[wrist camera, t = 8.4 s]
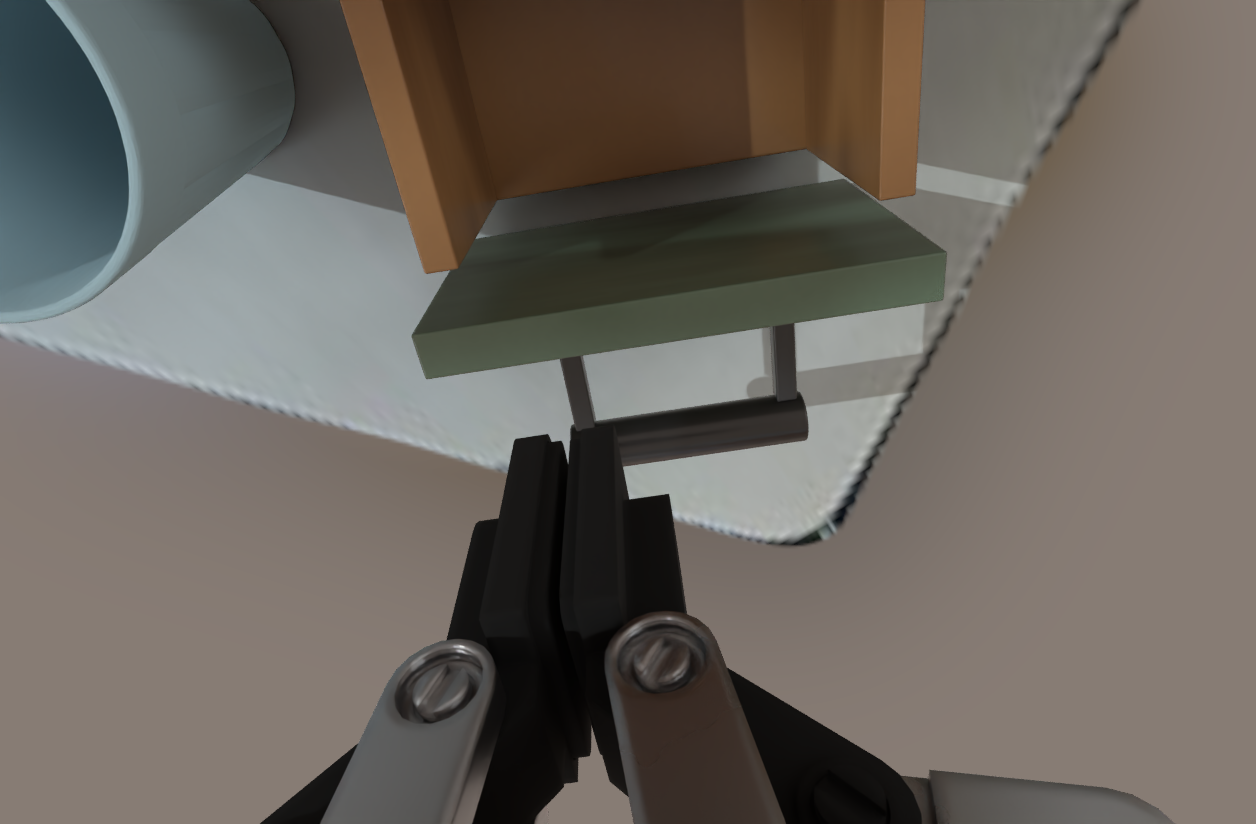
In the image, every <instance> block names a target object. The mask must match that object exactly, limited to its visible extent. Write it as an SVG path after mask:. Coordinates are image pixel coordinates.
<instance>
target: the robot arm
mask: <svg viewBox="0 0 1256 824" xmlns="http://www.w3.org/2000/svg"><path fill="white" fill-rule="evenodd" d="M591 725H592V728H593V732H594V735H595V739H596V742H597V745H598V749H599V752H600V754H601V755H602V756H603V759H604V763H605V766H606V770H607V773H608V777H609V780H610V782H611V783H612V784H614V785H615V786H616V787H617V788H618V789H619V790H621V791H622V792H623V793H624V794H625V795H627V796H628V797H629V801H630V806H631V811H632V817H633V822H634V824H1175V823H1174V822H1173V821H1172V820H1170V819H1169V818H1168V817H1167V816H1166V815H1165V814H1164V813H1163V812H1162V811H1160V810H1159V809H1158V808H1156V807H1154V806H1152V805H1151V804H1149V803H1147V802H1145V801H1143V800H1141V799H1140V798H1138V797H1136V796H1134V795H1132V794H1128V793H1124V792H1120V791H1117V790H1113V789H1109V788H1103V787H1093V786H1084V785H1073V784H1064V783H1053V782H1044V781H1034V780H1024V779H1014V778H1004V777H994V776H984V775H974V774H964V773H954V772H945V771H934V770H929V778H928V779H927V778H917V777H908V776H900V775H899V774H898V773H897V772H896V771H894V770H893V769H892V768H890V767H889V766H888V765H887V764H885V763H884V762H883V761H882V760H880V759H878V758H877V757H875V756H873V755H872V754H870V753H868V752H867V751H865V750H863V749H862V748H860V747H858V746H857V745H855V744H853V743H852V742H850V741H848V740H847V739H845V738H843V737H842V736H840V735H838V734H837V733H835V732H833V731H832V730H830V729H828V728H827V727H825V726H823V725H822V724H820V723H818V722H817V721H815V720H813V719H812V718H810V717H808V716H807V715H805V714H803V713H802V712H800V711H798V710H797V709H795V708H793V707H792V706H790V705H788V704H787V703H785V702H784V701H782V700H780V699H779V698H777V697H775V696H774V695H772V694H770V693H769V692H767V691H765V690H763V689H762V688H760V687H759V686H757V685H755V684H754V683H752V682H750V681H749V680H747V679H745V678H744V677H742V676H740V675H738V674H737V673H735V672H734V671H732V670H730V669H729V668H727V667H726V664H725V662H724V659H723V656H722V654H721V651H720V649H719V646H718V643H717V641H716V639H715V637H714V636H713V634H712V632H711V631H710V629H709V628H708V627H707V626H706V625H705V624H703V623H702V622H701V621H700V620H698V619H697V618H695V617H692V616H689V615H687V611H686V604H685V597H684V590H683V583H682V576H681V569H680V562H679V555H678V548H677V542H676V535H675V529H674V522H673V516H672V509H671V503H670V497H669V494H665V495H658V496H651V497H644V498H637V499H630V500H629V496H628V491H627V486H626V481H625V475H624V470H623V465H622V460H621V455H620V450H619V444H618V439H617V434H616V430H615V426H614V424H612V425H606V426H599V427H592V428H586V429H582V431H581V438H576V439H571V440H570V450H569V464H568V462H567V458H566V454H565V450H564V446H563V443H562V441H556V442H551V439H550V437H549V435H548V434H546V435H539V436H532V437H526V438H519V439H515V441H514V445H513V450H512V455H511V460H510V465H509V470H508V475H507V480H506V485H505V490H504V495H503V500H502V505H501V510H500V515H499V518H498V519H491V520H484V521H479V522H478V523H476V525H475V527H474V530H473V534H472V538H471V542H470V546H469V551H468V554H467V558H466V563H465V567H464V571H463V575H462V579H461V583H460V588H459V591H458V596H457V599H456V603H455V608H454V612H453V616H452V620H451V624H450V628H449V632H448V636H447V640H446V641H440V642H438V643H435V644H432V645H430V646H427V647H424V648H423V649H421V650H420V651H418V652H417V653H415V654H413V655H412V656H410V657H409V658H408V659H407V660H406V661H405V662H404V663H403V664H402V665H401V666H400V667H399V668H398V669H396V671H395V673H394V674H393V676H392V677H391V679H390V680H389V682H388V683H387V685H386V687H385V689H384V692H383V693H382V696H381V697H380V700H379V702H378V704H377V706H376V708H375V710H374V712H373V715H372V716H371V718H370V720H369V723H368V725H367V727H366V729H365V731H364V733H363V735H362V737H361V739H360V741H359V743H358V744H357V745H355V746H354V747H353V748H352V749H351V750H349V751H348V752H347V753H346V754H345V755H343V756H342V757H341V758H340V759H338V760H337V761H336V762H335V763H334V764H332V765H331V766H330V767H329V768H327V769H326V770H325V771H324V772H323V773H321V774H320V775H319V776H318V777H317V778H315V779H314V780H313V781H311V782H310V783H309V784H308V785H307V786H305V787H304V788H303V789H302V790H301V791H299V792H298V793H297V794H296V795H294V796H293V797H292V798H291V799H290V800H288V801H287V802H286V803H285V804H283V805H282V806H281V807H280V808H279V809H277V810H276V811H275V812H274V813H273V814H271V815H270V816H269V817H268V818H266V819H265V820H264V821H263V822H261V823H260V824H548V813H549V811H548V808H547V804H548V803H549V802H550V801H551V800H552V799H553V798H554V797H555V796H556V795H557V794H558V793H559V792H560V790H561V789H562V788H563V787H564V784H565V783H573V782H578V758H579V757H587V756H590V753H591Z"/></svg>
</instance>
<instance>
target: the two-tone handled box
mask: <svg viewBox="0 0 1256 824" xmlns="http://www.w3.org/2000/svg"><path fill="white" fill-rule="evenodd" d="M339 1H340V4H341V7H342V10H343V13H344V17H345V20H346V23H347V26H348V29H349V33H350V36H351V39H352V42H353V45H354V49H355V52H356V55H357V58H358V61H359V65H360V68H361V71H362V74H363V77H364V81H365V84H366V87H367V90H368V93H369V97H370V100H371V103H372V106H373V109H374V113H375V116H376V119H377V122H378V125H379V129H380V132H381V135H382V138H383V141H384V144H385V148H386V151H387V154H388V157H389V160H390V164H391V167H392V170H393V173H394V176H395V180H396V183H397V186H398V189H399V192H400V196H401V199H402V202H403V205H404V208H405V212H406V215H407V218H408V221H409V224H410V228H411V231H412V234H413V237H414V240H415V244H416V247H417V250H418V253H419V256H420V260H421V263H422V266H423V269H424V272H425V273H426V274H429V273H435V272H442V271H448V270H450V272H449V273H448V275H447V277H446V278H445V280H444V282H443V284H442V285H441V287H440V289H439V290H438V292H437V294H436V295H435V297H434V299H433V300H432V302H431V304H430V305H429V307H428V309H427V310H426V312H425V314H424V315H423V317H422V319H421V320H420V322H419V324H418V326H417V327H416V329H415V331H414V332H413V334H412V340H413V343H414V345H415V348H416V351H417V354H418V357H419V360H420V363H421V366H422V369H423V372H424V375H425V378H426V379H432V378H438V377H445V376H452V375H458V374H465V373H471V372H478V371H484V370H491V369H497V368H504V367H510V366H517V365H523V364H530V363H537V362H543V361H550V360H556V359H560V362H561V367H562V371H563V375H564V380H565V384H566V389H567V393H568V397H569V402H570V406H571V411H572V415H573V420H574V424H573V425H571V429H570V439H576V438H581V431H582V429H586V428H592V427H599V426H606V425H612V424H614V426H615V430H616V434H617V439H618V444H619V450H620V455H621V460H622V465H623V467H624V466H631V465H638V464H645V463H652V462H659V461H666V460H672V459H679V458H686V457H693V456H700V455H707V454H714V453H721V452H728V451H735V450H742V449H749V448H756V447H763V446H770V445H777V444H784V443H791V442H798V441H805V440H806V439H807V438H808V417H807V411H806V406H805V403H804V399H803V397H802V395H801V393H800V392H798V391H797V385H796V359H795V333H794V323H798V322H805V321H811V320H818V319H824V318H831V317H837V316H844V315H851V314H857V313H864V312H870V311H877V310H883V309H890V308H896V307H903V306H909V305H916V304H922V303H929V302H936V301H941V300H943V297H944V284H945V271H946V258H947V253H946V251H945V250H943V249H942V248H941V247H939V246H938V245H936V244H935V243H934V242H932V241H931V240H929V239H928V238H927V237H925V236H924V235H922V234H921V233H920V232H918V231H917V230H915V229H914V228H913V227H911V226H910V225H908V224H907V223H906V222H904V221H903V220H901V219H900V218H899V217H897V216H896V215H894V214H893V213H892V212H890V211H889V210H887V209H886V208H885V207H883V206H882V205H880V204H879V203H878V202H876V201H875V200H873V199H872V198H871V197H869V196H868V195H866V194H865V193H864V192H862V191H861V190H859V189H858V188H857V187H855V186H854V185H852V184H851V183H850V182H848V181H847V180H845V179H840V180H834V181H828V182H821V183H815V184H809V185H803V186H797V187H791V188H785V189H779V190H772V191H766V192H760V193H754V194H748V195H742V196H736V197H730V198H723V199H717V200H711V201H705V202H699V203H693V204H687V205H681V206H674V207H668V208H662V209H656V210H650V211H644V212H638V213H632V214H625V215H619V216H613V217H607V218H601V219H595V220H589V221H583V222H576V223H570V224H564V225H558V226H552V227H546V228H540V229H534V230H527V231H521V232H515V233H509V234H503V235H497V236H491V237H485V238H478V239H475V238H476V236H477V235H478V233H479V231H480V229H481V228H482V226H483V224H484V222H485V221H486V219H487V217H488V215H489V214H490V212H491V210H492V208H493V207H494V205H495V203H496V201H497V200H502V199H508V198H514V197H520V196H526V195H532V194H538V193H544V192H550V191H556V190H562V189H568V188H574V187H580V186H586V185H592V184H598V183H604V182H610V181H616V180H622V179H628V178H634V177H640V176H646V175H652V174H658V173H664V172H670V171H676V170H682V169H688V168H695V167H701V166H707V165H713V164H719V163H725V162H731V161H737V160H743V159H749V158H755V157H761V156H767V155H773V154H779V153H785V152H791V151H797V150H803V149H807V150H808V151H810V152H811V153H813V154H814V155H815V156H817V157H818V158H820V159H821V160H823V161H824V162H825V163H827V164H828V165H830V166H831V167H833V168H834V169H835V170H837V171H838V172H840V173H841V174H843V175H844V176H845V177H847V178H848V179H850V180H851V181H853V182H854V183H855V184H857V185H858V186H860V187H861V188H862V189H864V190H865V191H867V192H868V193H870V194H871V195H872V196H874V197H875V198H877V199H878V200H880V201H882V200H888V199H895V198H901V197H907V196H913V195H915V192H916V172H917V153H918V133H919V114H920V94H921V75H922V55H923V35H924V16H925V0H339ZM766 327H770V343H771V360H772V378H773V393H774V395H769V396H763V397H756V398H749V399H742V400H735V401H729V402H722V403H715V404H708V405H702V406H695V407H688V408H681V409H674V410H668V411H661V412H654V413H647V414H641V415H634V416H627V417H620V418H613V419H607V420H600V421H596V417H595V412H594V408H593V403H592V398H591V393H590V388H589V383H588V379H587V374H586V369H585V364H584V359H583V355H589V354H595V353H602V352H609V351H615V350H622V349H628V348H635V347H641V346H648V345H654V344H661V343H667V342H674V341H680V340H687V339H694V338H700V337H707V336H713V335H720V334H726V333H733V332H739V331H746V330H752V329H759V328H766Z"/></svg>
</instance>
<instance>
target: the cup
mask: <svg viewBox="0 0 1256 824" xmlns="http://www.w3.org/2000/svg"><path fill="white" fill-rule="evenodd" d="M294 105H295V89H294V83H293V77H292V71H291V66H290V62H289V59H288V56H287V54H286V51H285V49H284V47H283V45H282V43H281V42H280V40H279V38H278V36H277V35H276V33H275V31H274V30H273V28H272V26H271V25H270V23H269V21H268V20H267V19H266V17H265V16H264V15H263V14H262V13H261V11H260V10H259V9H258V8H257V7H256V6H255V5H254V4H252V3H251V2H250V1H249V0H0V324H3V323H25V322H32V321H38V320H43V319H48V318H52V317H55V316H58V315H61V314H64V313H66V312H69V311H71V310H73V309H76V308H78V307H80V306H82V305H84V304H85V303H87V302H89V301H91V300H92V299H94V298H95V297H96V296H98V295H99V294H100V293H102V292H103V291H104V290H105V289H107V288H108V287H109V286H110V285H111V284H113V283H114V282H115V281H116V280H117V279H119V278H120V277H121V276H122V275H124V274H125V273H126V272H127V271H128V270H130V269H131V268H132V267H133V266H135V265H136V264H137V263H138V262H139V261H141V260H142V259H143V258H144V257H146V256H147V255H148V254H149V253H150V252H151V251H152V250H153V249H154V248H155V247H156V246H157V245H158V244H159V243H161V242H162V241H163V240H164V239H166V238H167V237H168V236H169V235H171V234H172V233H173V232H174V231H175V230H177V229H178V228H179V227H180V226H182V225H183V224H184V223H185V222H187V221H188V220H189V219H190V218H192V217H193V216H194V215H195V214H196V213H198V212H199V211H200V210H201V209H203V208H204V207H205V206H206V205H208V204H209V203H210V202H211V201H213V200H214V199H215V198H216V197H217V196H219V195H220V194H221V193H222V192H224V191H225V190H226V189H227V188H229V187H230V186H231V185H232V184H233V183H235V182H236V181H237V180H238V179H240V178H241V177H242V176H243V175H245V174H246V173H247V172H248V171H249V170H251V169H252V168H253V167H254V166H255V165H257V164H258V163H259V162H260V161H261V160H262V159H264V158H265V157H266V156H267V155H268V154H269V153H270V152H271V151H272V150H273V149H274V148H275V147H276V146H278V145H279V144H280V143H281V141H282V140H283V139H284V137H285V135H286V133H287V131H288V128H289V124H290V121H291V117H292V114H293V110H294Z"/></svg>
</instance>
